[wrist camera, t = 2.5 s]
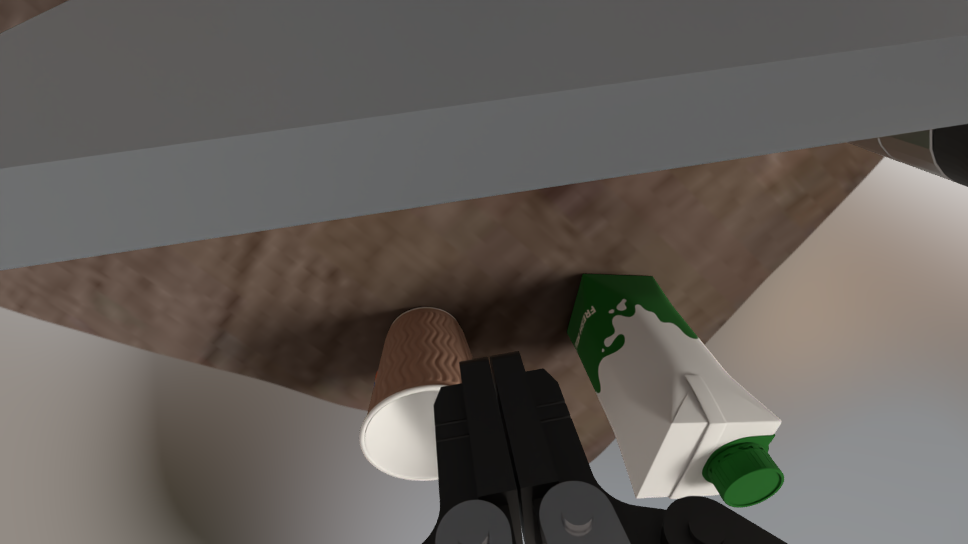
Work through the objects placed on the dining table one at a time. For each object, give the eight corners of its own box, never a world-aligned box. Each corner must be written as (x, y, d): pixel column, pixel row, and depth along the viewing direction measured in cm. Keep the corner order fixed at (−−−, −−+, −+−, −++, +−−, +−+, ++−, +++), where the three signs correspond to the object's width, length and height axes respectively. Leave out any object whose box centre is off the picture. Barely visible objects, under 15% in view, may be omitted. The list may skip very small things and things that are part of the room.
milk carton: (637, 339, 49) (757, 527, 32) (554, 338, 48) (636, 535, 31) (664, 267, 45) (819, 441, 28) (574, 264, 43) (681, 446, 26)
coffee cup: (346, 339, 44) (328, 446, 34) (423, 270, 41) (429, 364, 31) (425, 390, 49) (431, 497, 39) (500, 331, 46) (526, 430, 36)
